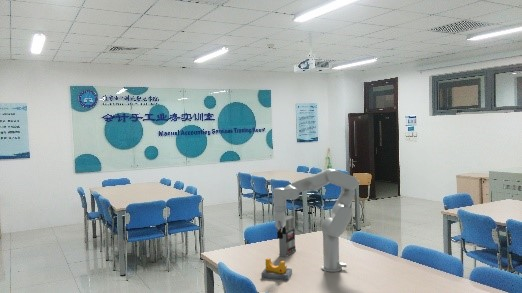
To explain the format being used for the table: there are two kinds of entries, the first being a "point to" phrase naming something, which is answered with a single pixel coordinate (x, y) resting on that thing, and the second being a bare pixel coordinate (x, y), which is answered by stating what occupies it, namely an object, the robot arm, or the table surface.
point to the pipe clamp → (271, 267)
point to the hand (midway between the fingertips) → (281, 236)
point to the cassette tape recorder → (288, 238)
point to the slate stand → (276, 274)
